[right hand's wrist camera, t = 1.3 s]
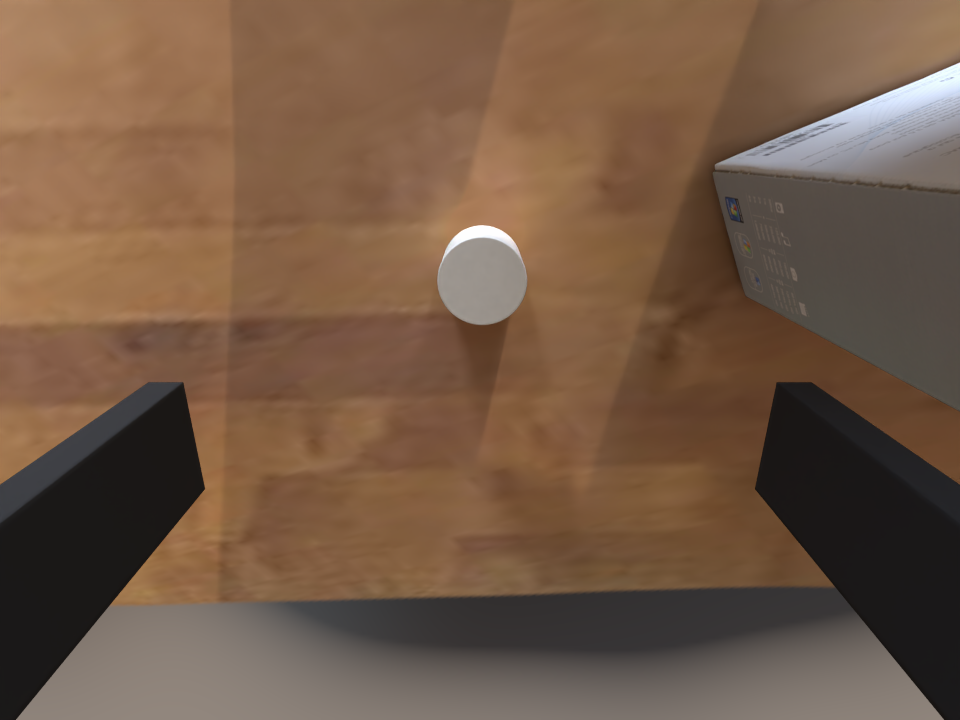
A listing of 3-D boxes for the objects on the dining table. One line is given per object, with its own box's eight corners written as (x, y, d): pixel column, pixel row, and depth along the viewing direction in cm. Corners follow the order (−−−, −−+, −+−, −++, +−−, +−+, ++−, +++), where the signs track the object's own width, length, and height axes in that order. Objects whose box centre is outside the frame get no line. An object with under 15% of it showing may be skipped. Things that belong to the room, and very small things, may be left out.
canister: (438, 229, 29) (431, 241, 25) (518, 221, 29) (523, 232, 25) (447, 307, 31) (443, 329, 27) (524, 299, 30) (530, 320, 27)
